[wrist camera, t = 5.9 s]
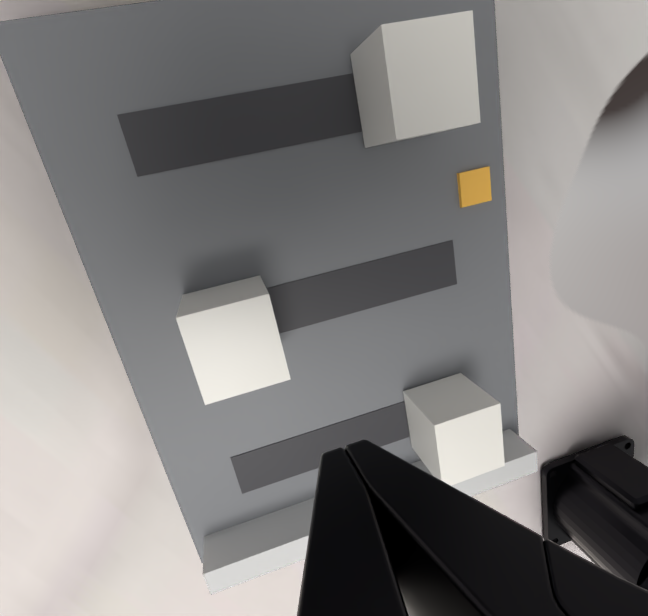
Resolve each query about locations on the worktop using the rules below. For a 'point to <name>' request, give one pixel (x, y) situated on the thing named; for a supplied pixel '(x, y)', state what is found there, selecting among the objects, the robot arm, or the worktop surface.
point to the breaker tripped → (232, 339)
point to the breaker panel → (273, 240)
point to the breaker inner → (455, 428)
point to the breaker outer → (417, 78)
